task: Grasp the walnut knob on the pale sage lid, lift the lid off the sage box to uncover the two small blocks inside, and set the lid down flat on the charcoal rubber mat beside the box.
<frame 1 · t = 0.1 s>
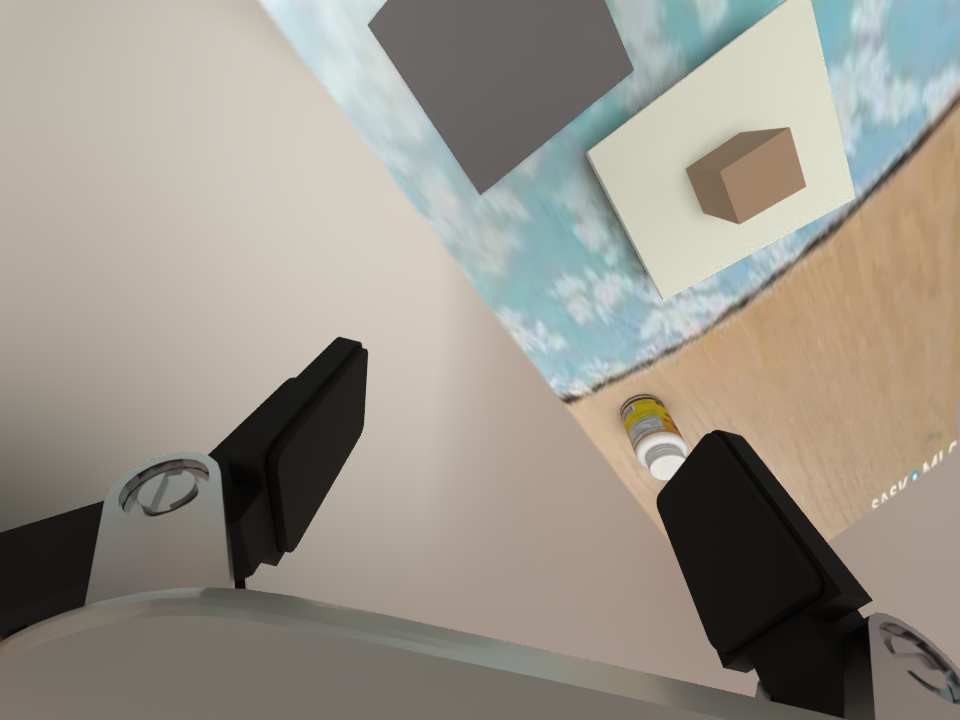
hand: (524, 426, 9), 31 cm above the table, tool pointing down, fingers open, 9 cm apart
mat: (500, 48, 29), on the table
lid: (714, 174, 28), point 5 cm above the table, touching box
supplement bottle: (640, 408, 47), on the table
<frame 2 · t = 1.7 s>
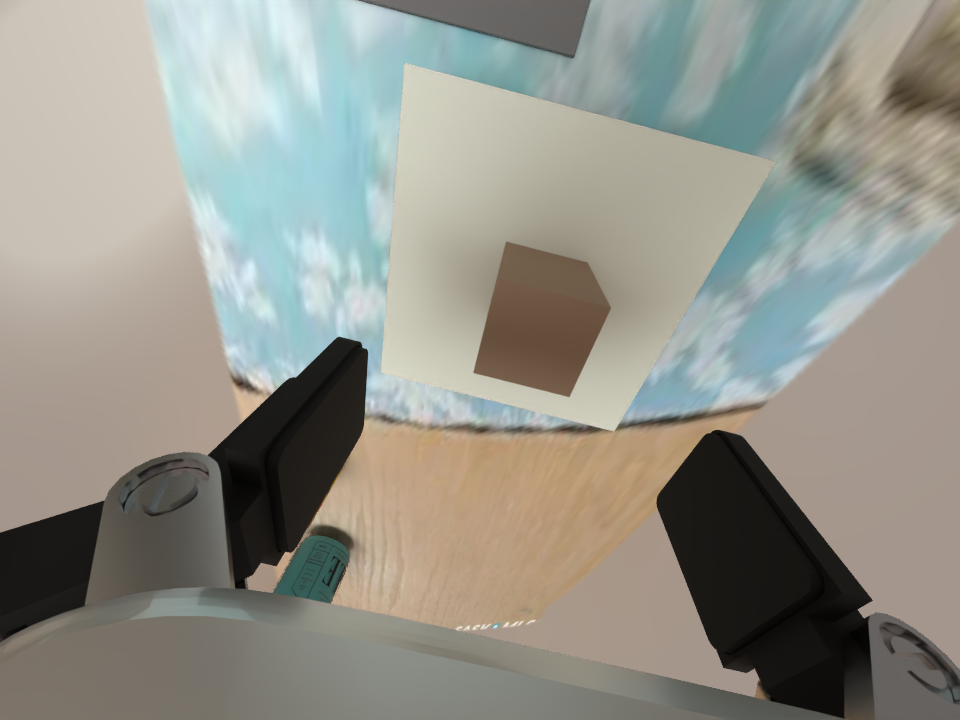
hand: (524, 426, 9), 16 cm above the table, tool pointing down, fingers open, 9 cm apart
beverage bottle: (333, 536, 44), on the table
lid: (533, 284, 18), point 5 cm above the table, touching box
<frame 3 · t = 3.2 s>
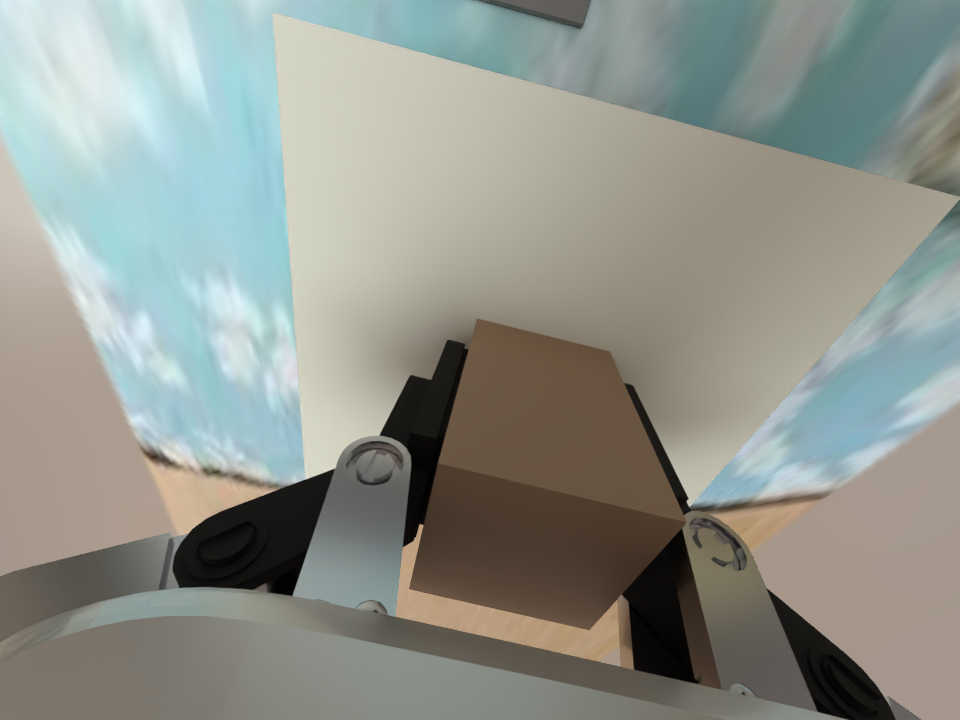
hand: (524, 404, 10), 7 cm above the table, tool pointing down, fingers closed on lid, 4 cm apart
lid: (524, 372, 12), point 5 cm above the table, touching box, gripper
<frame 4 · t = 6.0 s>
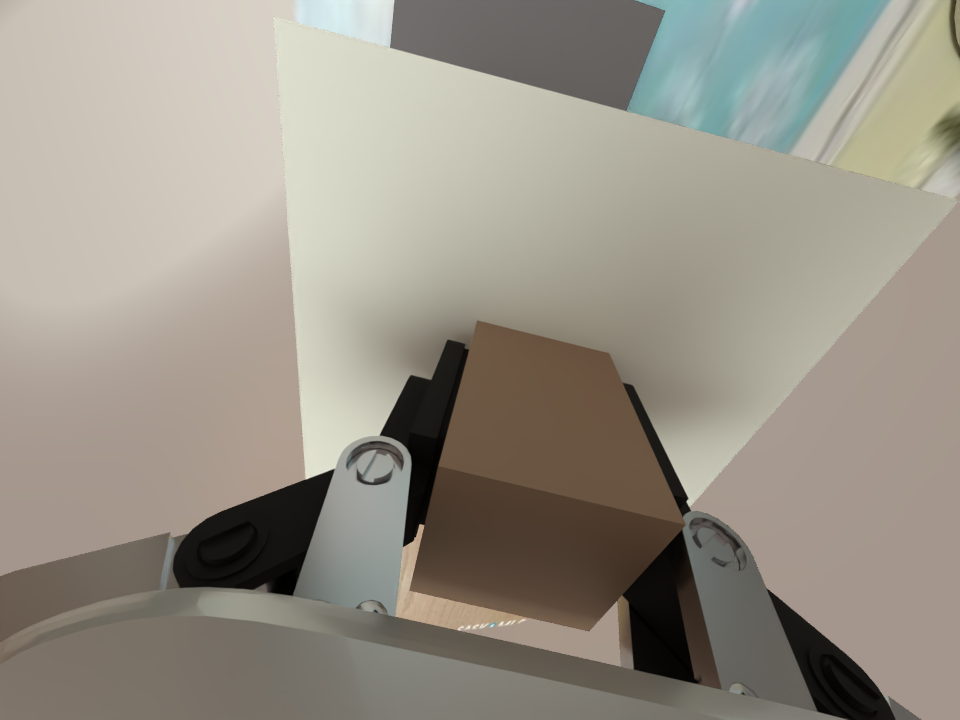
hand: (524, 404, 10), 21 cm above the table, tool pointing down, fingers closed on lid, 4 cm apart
mat: (498, 128, 24), on the table
lid: (523, 373, 12), point 19 cm above the table, touching gripper
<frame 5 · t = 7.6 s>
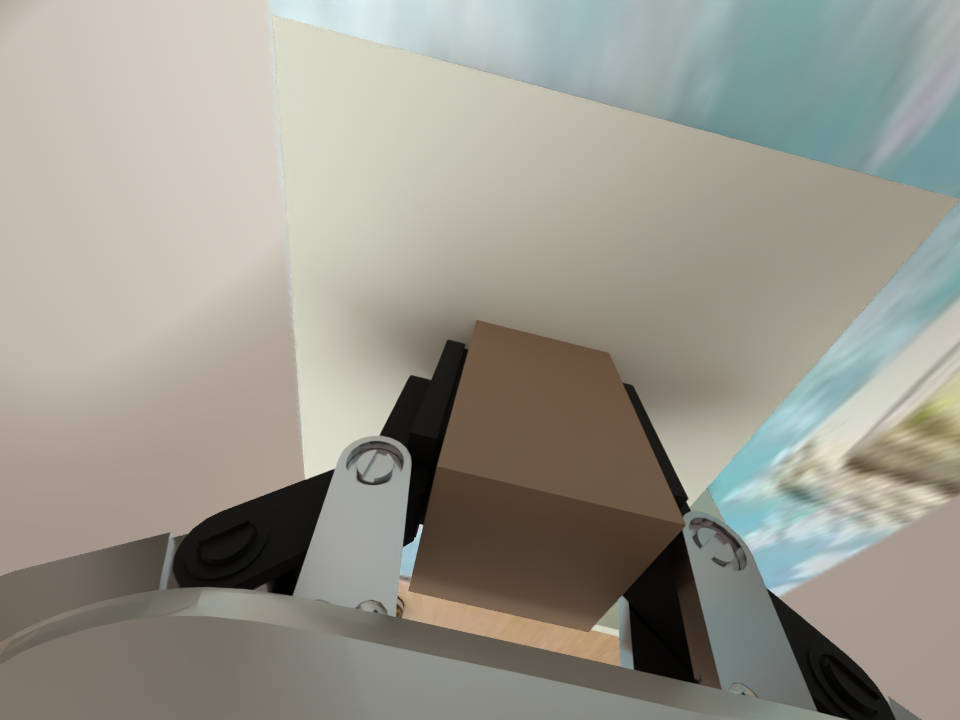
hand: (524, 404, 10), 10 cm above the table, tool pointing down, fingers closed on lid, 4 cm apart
box: (576, 514, 29), on the table
lid: (523, 373, 12), point 9 cm above the table, touching gripper
when the fingers open (4 cm above the table, at t = 8.8 s): lid drops 1 cm, resting on mat.
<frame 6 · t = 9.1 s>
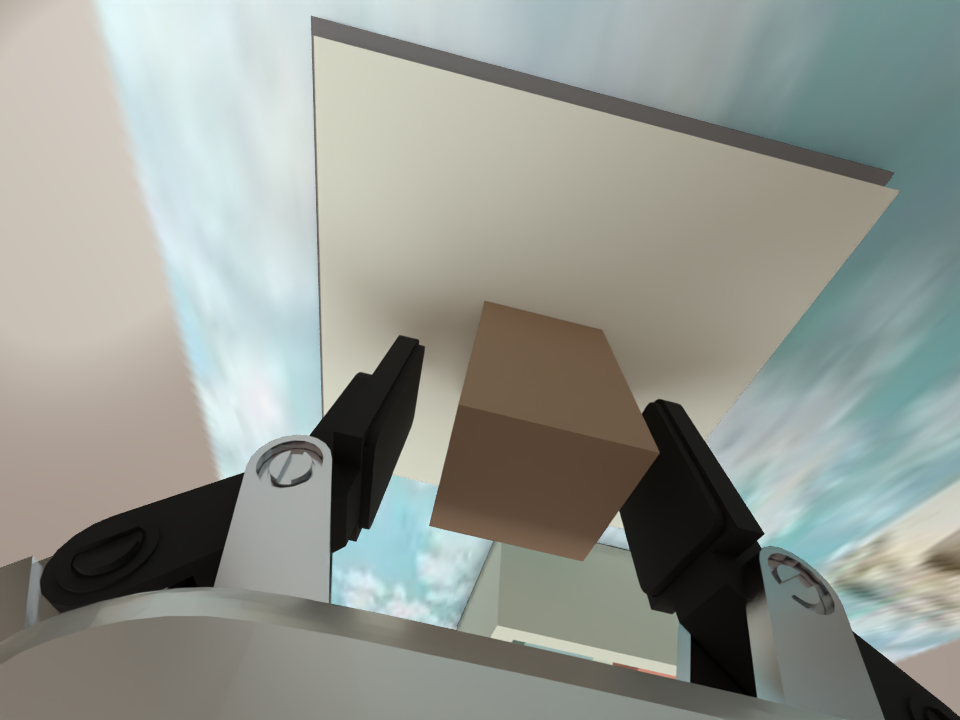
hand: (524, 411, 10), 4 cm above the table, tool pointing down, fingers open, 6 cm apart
mat: (523, 346, 14), on the table
box: (577, 605, 23), on the table
lid: (526, 351, 13), resting on mat
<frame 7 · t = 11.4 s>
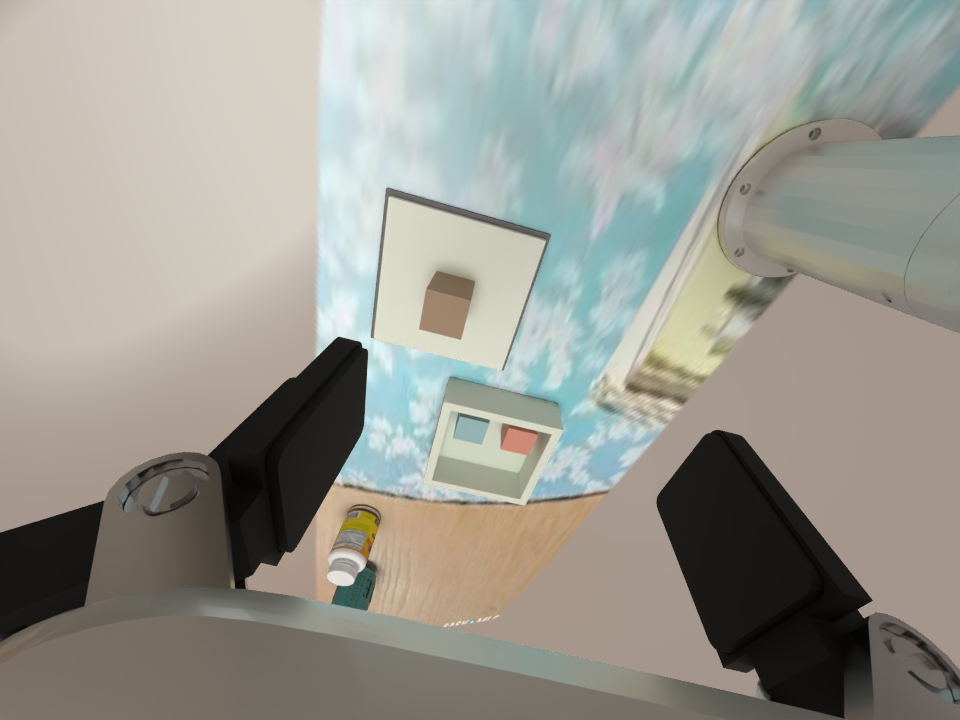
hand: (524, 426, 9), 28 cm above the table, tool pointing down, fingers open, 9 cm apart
mat: (452, 289, 37), on the table
box: (489, 430, 46), on the table
beverage bottle: (363, 565, 66), on the table
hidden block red: (517, 422, 45), point 1 cm above the table, touching box
lid: (453, 291, 36), resting on mat
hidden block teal: (473, 411, 44), point 1 cm above the table, touching box
supplement bottle: (365, 513, 57), on the table
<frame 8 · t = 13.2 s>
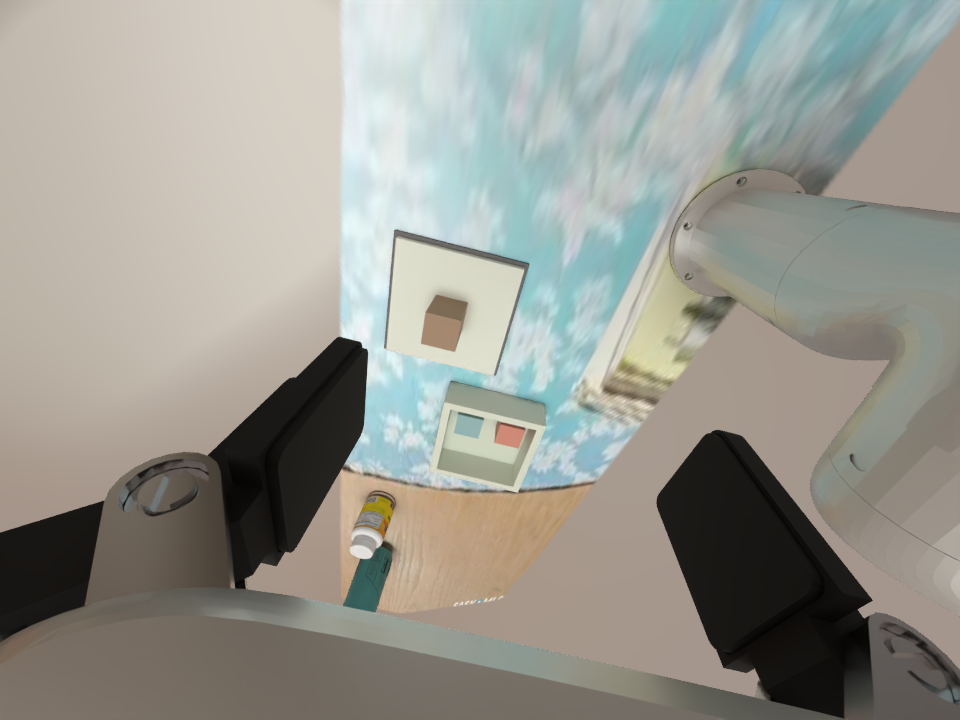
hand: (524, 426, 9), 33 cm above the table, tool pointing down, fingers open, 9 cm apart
mat: (450, 309, 44), on the table
box: (486, 427, 54), on the table
beverage bottle: (381, 545, 74), on the table
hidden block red: (510, 420, 52), point 1 cm above the table, touching box
lid: (450, 310, 44), resting on mat
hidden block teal: (471, 410, 51), point 1 cm above the table, touching box
supplement bottle: (382, 498, 66), on the table
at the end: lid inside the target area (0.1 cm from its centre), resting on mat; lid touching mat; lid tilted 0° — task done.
